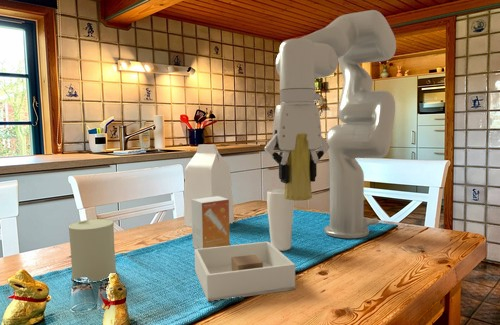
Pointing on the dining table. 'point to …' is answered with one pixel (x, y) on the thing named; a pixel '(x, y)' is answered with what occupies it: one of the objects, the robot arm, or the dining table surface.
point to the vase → (299, 171)
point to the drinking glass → (280, 219)
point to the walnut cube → (246, 262)
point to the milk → (207, 180)
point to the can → (92, 249)
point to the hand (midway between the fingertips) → (297, 180)
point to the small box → (210, 222)
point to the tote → (243, 271)
